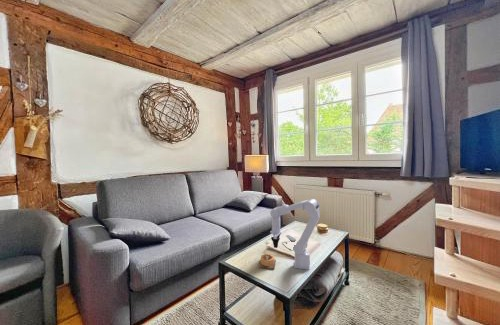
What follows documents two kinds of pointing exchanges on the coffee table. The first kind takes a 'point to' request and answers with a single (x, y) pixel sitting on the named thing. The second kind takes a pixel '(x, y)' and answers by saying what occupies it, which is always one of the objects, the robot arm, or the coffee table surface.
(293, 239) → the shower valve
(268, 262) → the cord coil ring
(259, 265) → the walnut base board
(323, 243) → the coffee table surface
